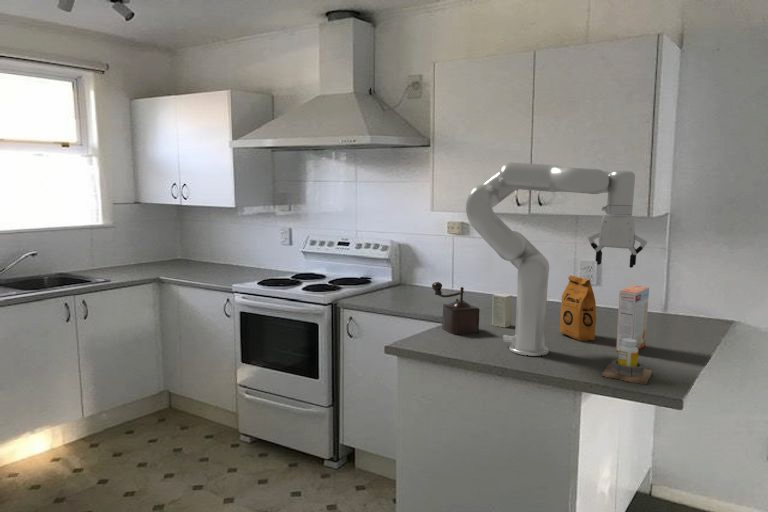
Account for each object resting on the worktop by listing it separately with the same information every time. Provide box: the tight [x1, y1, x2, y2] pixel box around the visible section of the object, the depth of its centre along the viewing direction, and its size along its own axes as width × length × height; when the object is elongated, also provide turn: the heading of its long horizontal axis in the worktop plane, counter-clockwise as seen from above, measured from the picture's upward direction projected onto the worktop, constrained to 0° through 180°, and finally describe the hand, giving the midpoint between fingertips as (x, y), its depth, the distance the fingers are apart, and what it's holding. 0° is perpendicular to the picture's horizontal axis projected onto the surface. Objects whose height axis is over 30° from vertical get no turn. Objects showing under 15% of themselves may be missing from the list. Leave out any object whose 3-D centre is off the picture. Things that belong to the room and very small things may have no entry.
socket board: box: [601, 359, 653, 386], centre depth 181 cm, size 12×12×4 cm
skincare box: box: [491, 293, 512, 328], centre depth 238 cm, size 6×4×12 cm
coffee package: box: [559, 275, 597, 342], centre depth 223 cm, size 10×12×22 cm
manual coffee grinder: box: [431, 281, 480, 336], centre depth 228 cm, size 16×11×18 cm
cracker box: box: [615, 285, 650, 352], centre depth 210 cm, size 14×6×21 cm, turn 141°
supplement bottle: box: [617, 338, 639, 367], centre depth 181 cm, size 5×5×10 cm
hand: (615, 265), depth 194 cm, fingers open, 9 cm apart
